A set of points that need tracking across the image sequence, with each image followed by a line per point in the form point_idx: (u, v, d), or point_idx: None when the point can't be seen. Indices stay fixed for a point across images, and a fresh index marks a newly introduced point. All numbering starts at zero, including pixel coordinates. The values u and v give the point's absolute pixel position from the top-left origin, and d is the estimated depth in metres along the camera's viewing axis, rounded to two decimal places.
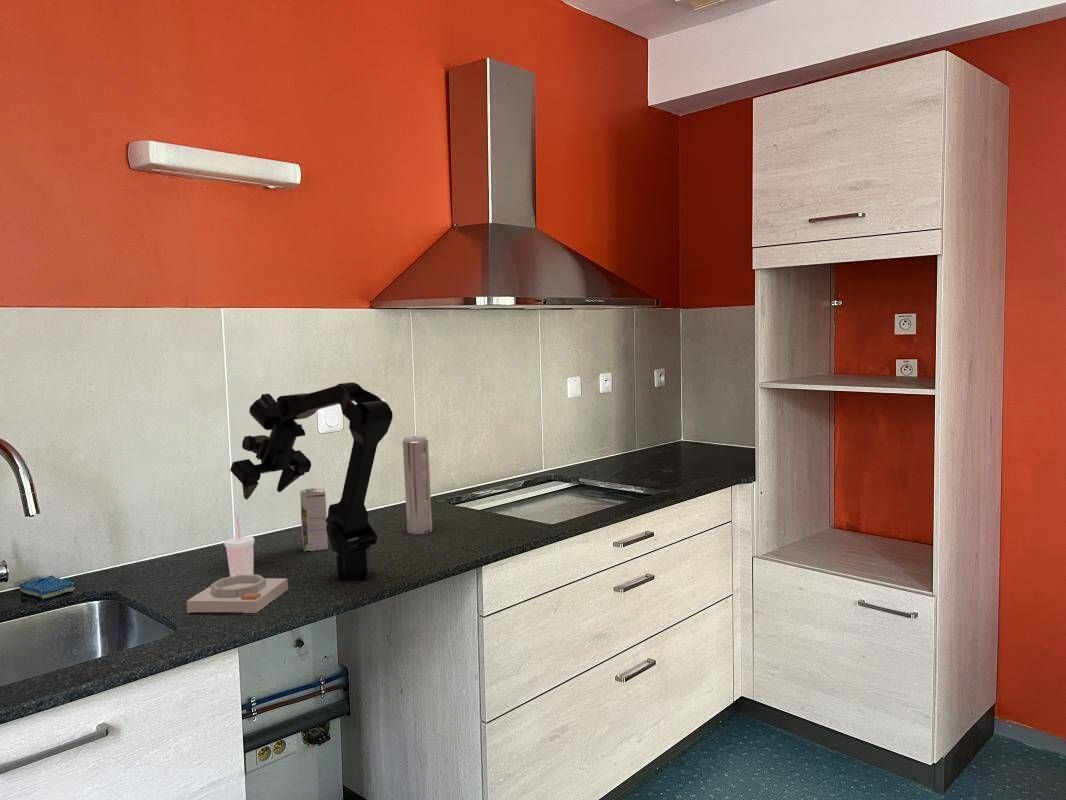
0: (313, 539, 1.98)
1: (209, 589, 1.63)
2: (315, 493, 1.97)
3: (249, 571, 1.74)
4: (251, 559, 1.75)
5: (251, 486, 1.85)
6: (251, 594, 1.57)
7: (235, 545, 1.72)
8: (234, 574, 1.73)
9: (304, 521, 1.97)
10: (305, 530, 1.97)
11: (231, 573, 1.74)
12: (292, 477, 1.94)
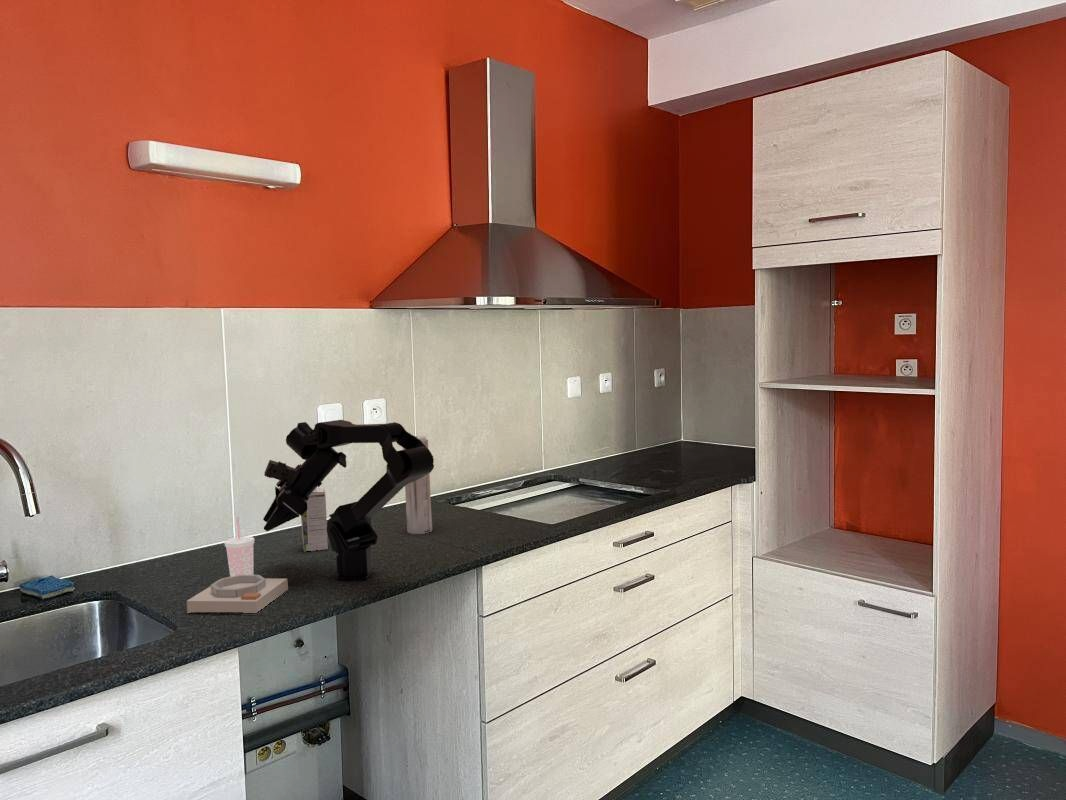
0: (313, 539, 1.98)
1: (209, 589, 1.63)
2: (315, 493, 1.97)
3: (249, 571, 1.74)
4: (251, 559, 1.75)
5: None
6: (251, 594, 1.57)
7: (235, 545, 1.72)
8: (234, 574, 1.73)
9: (304, 521, 1.97)
10: (305, 530, 1.97)
11: (231, 573, 1.74)
12: None
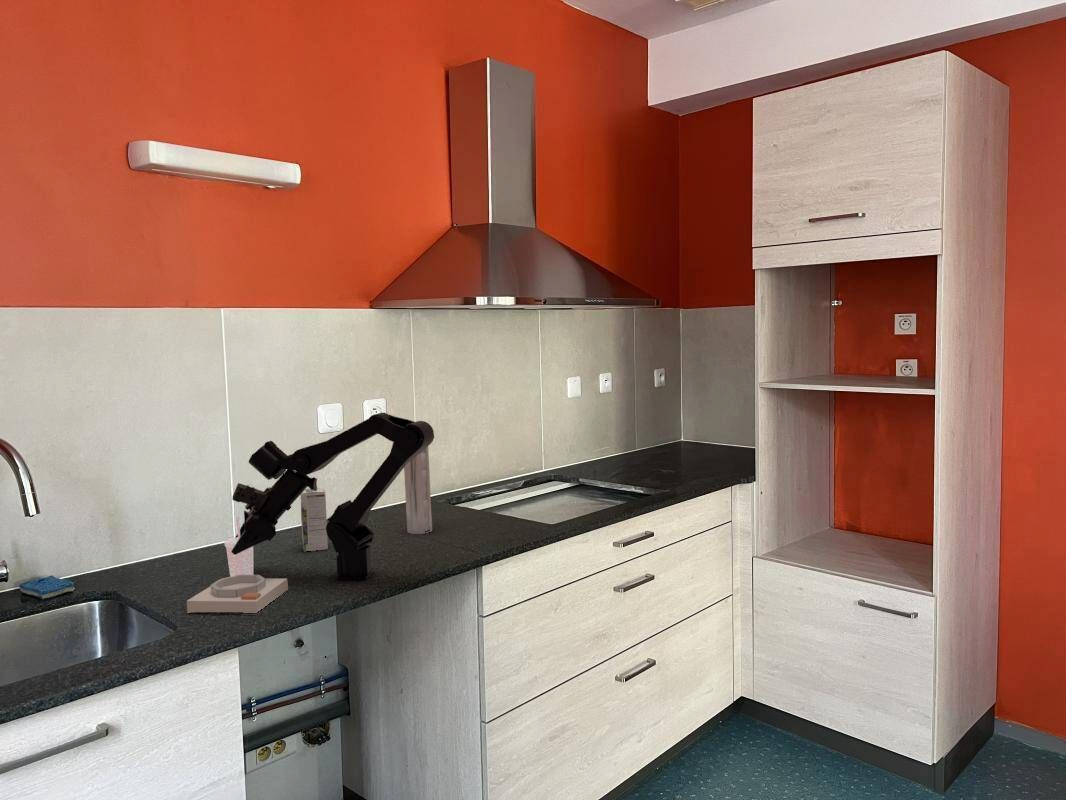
0: (313, 539, 1.98)
1: (209, 589, 1.63)
2: (315, 493, 1.97)
3: (249, 571, 1.74)
4: (251, 559, 1.75)
5: None
6: (251, 594, 1.57)
7: None
8: (234, 574, 1.73)
9: (304, 521, 1.97)
10: (305, 530, 1.97)
11: (231, 573, 1.74)
12: None
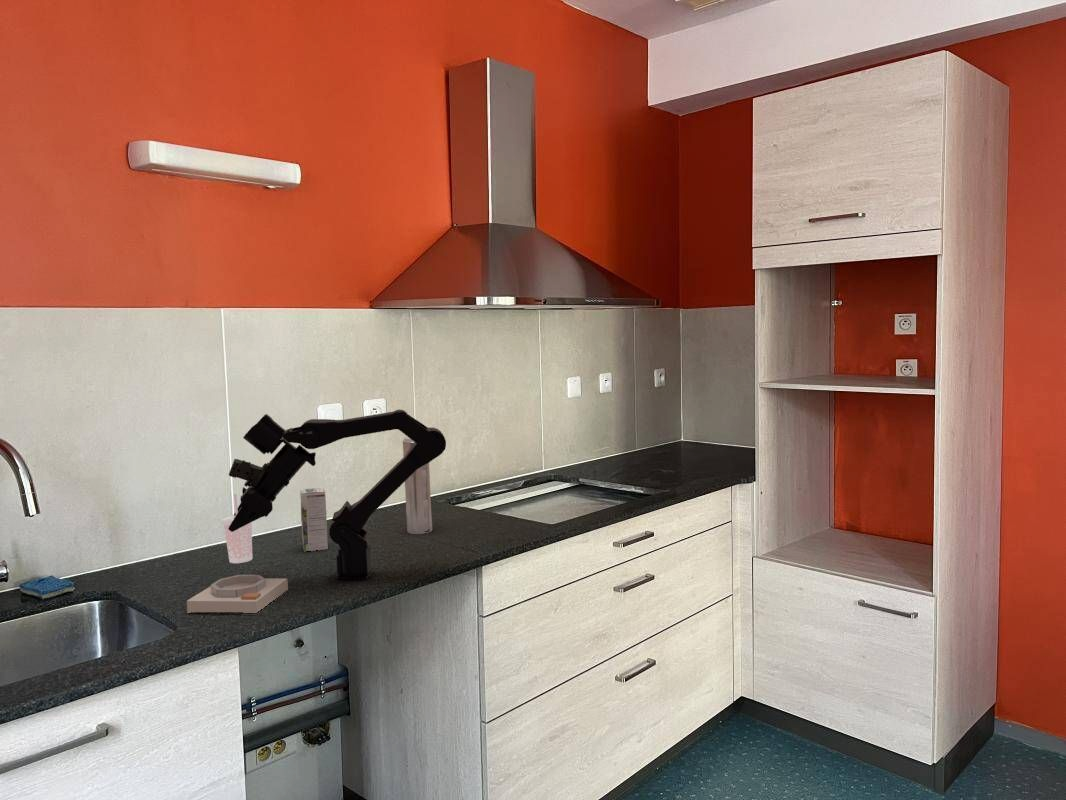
0: (313, 539, 1.98)
1: (209, 589, 1.63)
2: (315, 493, 1.97)
3: (247, 550, 1.69)
4: (249, 537, 1.70)
5: None
6: (251, 594, 1.57)
7: None
8: (232, 552, 1.68)
9: (304, 521, 1.97)
10: (305, 530, 1.97)
11: (229, 552, 1.69)
12: None
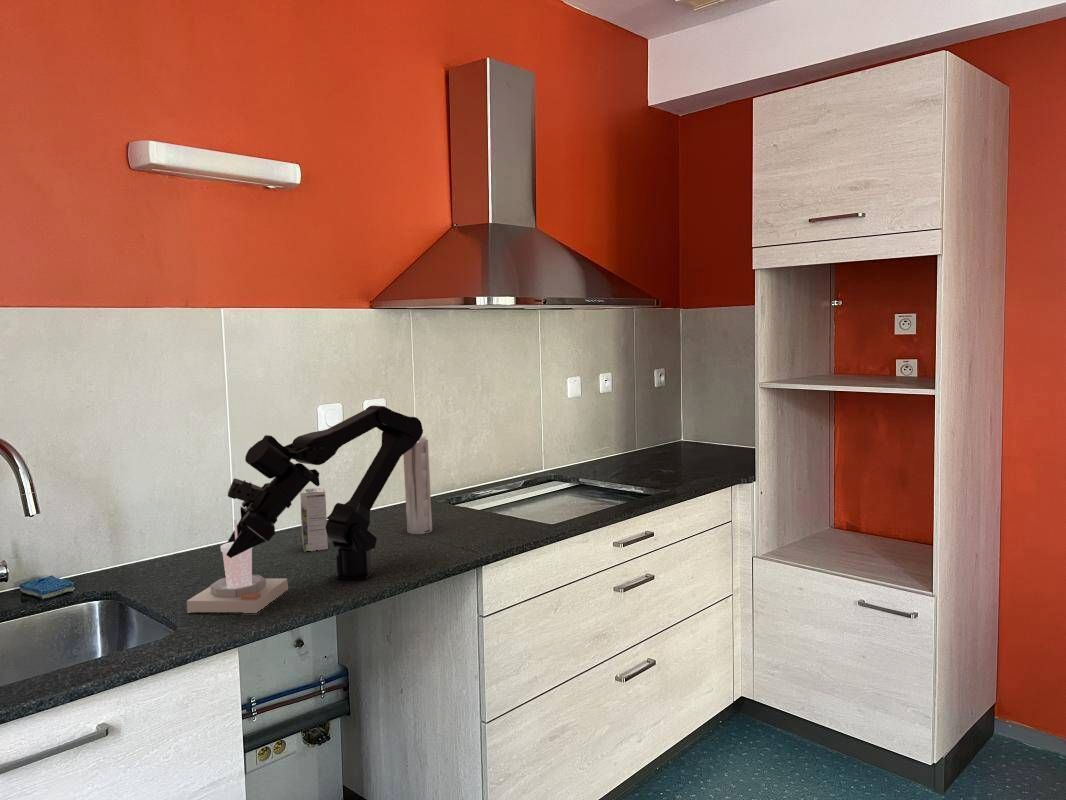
0: (313, 539, 1.98)
1: (209, 589, 1.63)
2: (315, 493, 1.97)
3: (247, 579, 1.61)
4: (249, 565, 1.61)
5: None
6: (251, 594, 1.57)
7: None
8: (231, 581, 1.60)
9: (304, 521, 1.97)
10: (305, 530, 1.97)
11: (227, 580, 1.60)
12: None
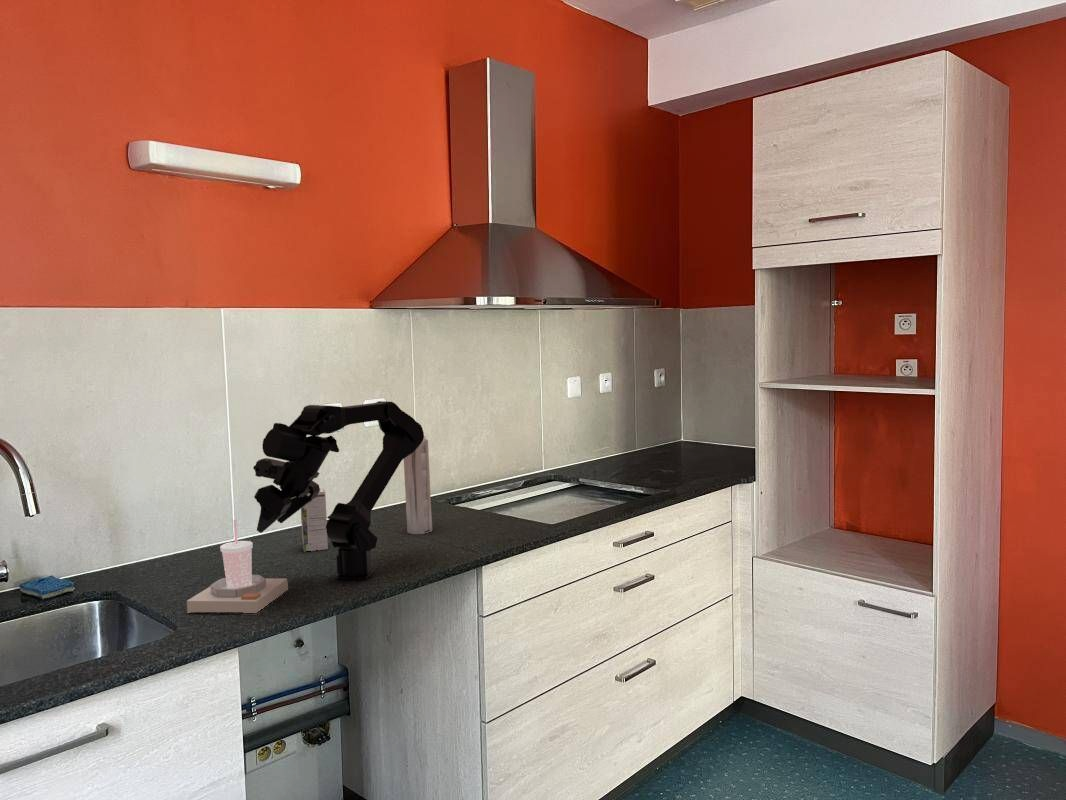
0: (313, 539, 1.98)
1: (209, 589, 1.63)
2: None
3: (247, 579, 1.61)
4: (249, 565, 1.61)
5: (280, 515, 1.61)
6: (251, 594, 1.57)
7: (231, 550, 1.58)
8: (230, 581, 1.60)
9: (304, 521, 1.97)
10: (305, 530, 1.97)
11: (227, 580, 1.60)
12: (302, 504, 1.73)
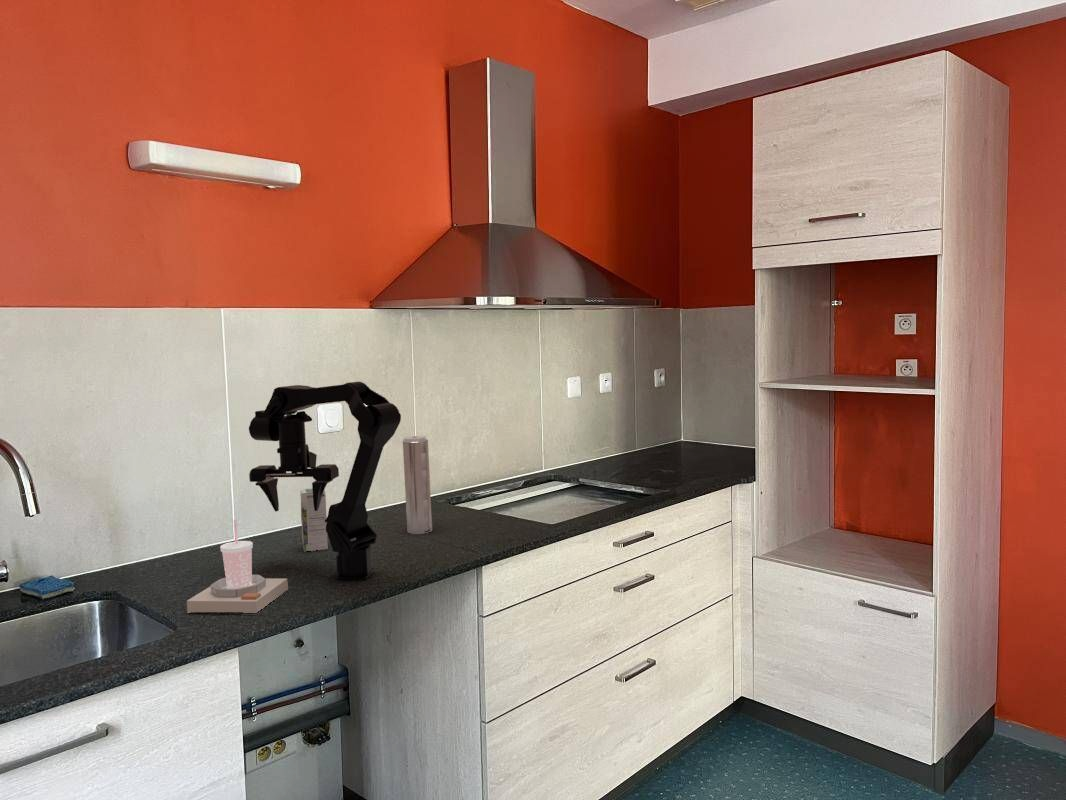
0: (313, 539, 1.98)
1: (209, 589, 1.63)
2: None
3: (247, 579, 1.61)
4: (249, 565, 1.61)
5: (260, 486, 1.81)
6: (251, 594, 1.57)
7: (231, 550, 1.58)
8: (230, 581, 1.60)
9: (304, 521, 1.97)
10: (305, 530, 1.97)
11: (227, 580, 1.60)
12: None
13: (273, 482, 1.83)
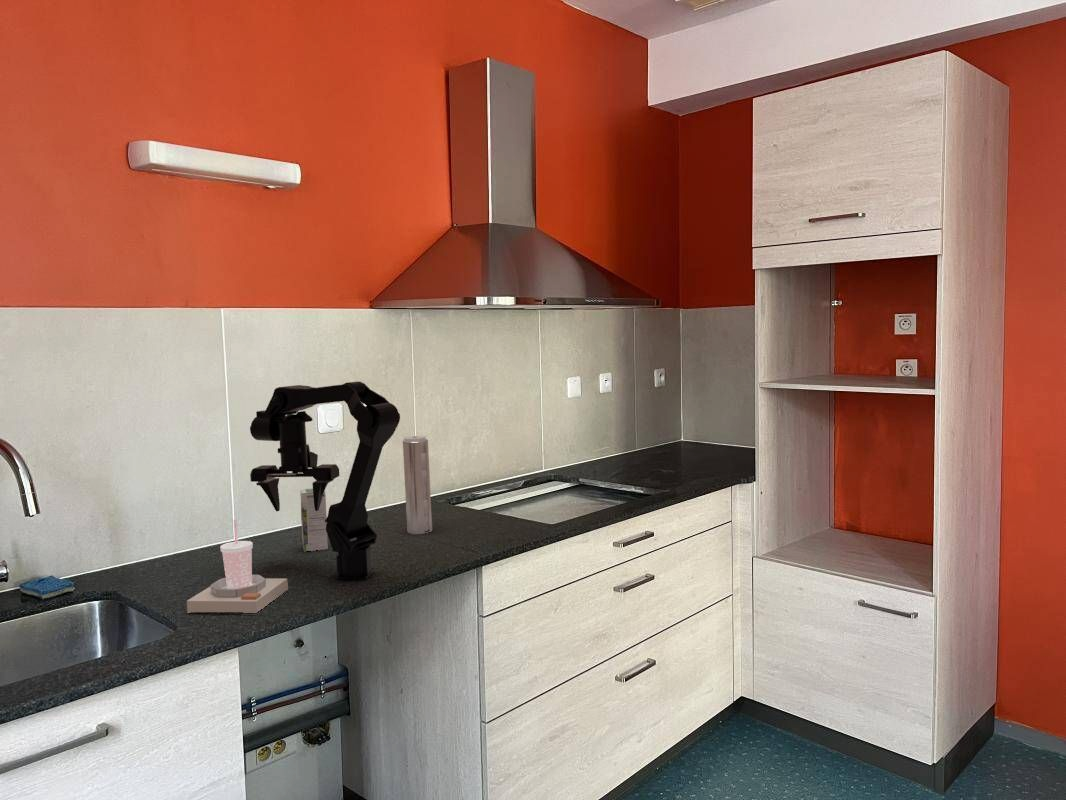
0: (313, 539, 1.98)
1: (209, 589, 1.63)
2: None
3: (247, 579, 1.61)
4: (249, 565, 1.61)
5: (261, 486, 1.81)
6: (251, 594, 1.57)
7: (231, 550, 1.58)
8: (230, 581, 1.60)
9: (304, 521, 1.97)
10: (305, 530, 1.97)
11: (227, 580, 1.60)
12: None
13: (273, 482, 1.83)
